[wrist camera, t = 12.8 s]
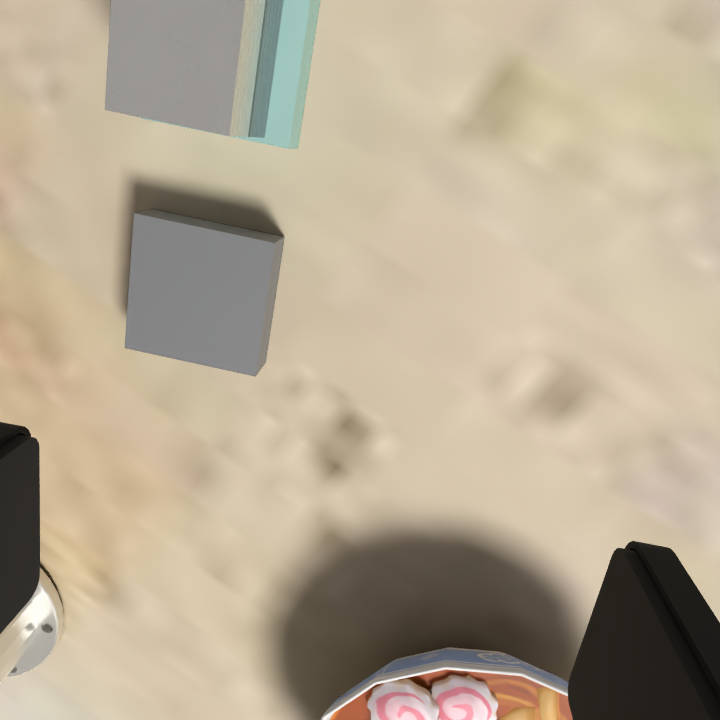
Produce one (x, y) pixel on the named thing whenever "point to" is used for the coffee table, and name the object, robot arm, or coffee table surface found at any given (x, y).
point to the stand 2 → (201, 291)
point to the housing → (194, 62)
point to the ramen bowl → (455, 690)
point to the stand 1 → (289, 74)
